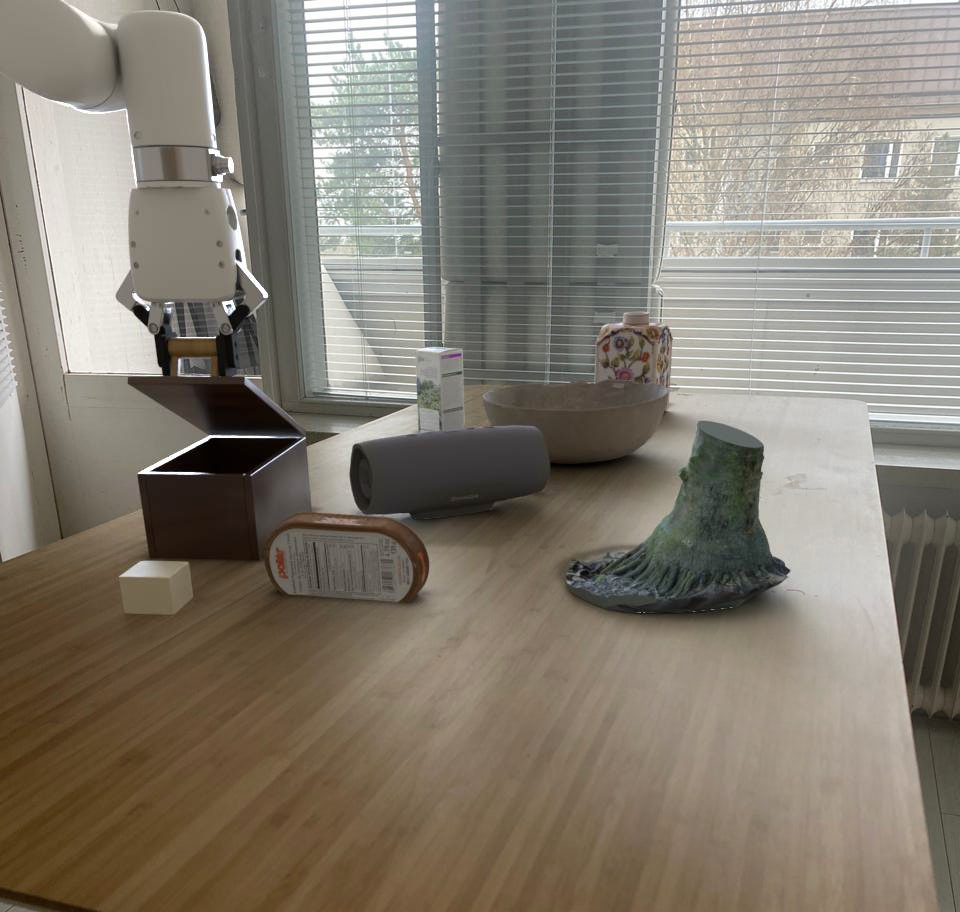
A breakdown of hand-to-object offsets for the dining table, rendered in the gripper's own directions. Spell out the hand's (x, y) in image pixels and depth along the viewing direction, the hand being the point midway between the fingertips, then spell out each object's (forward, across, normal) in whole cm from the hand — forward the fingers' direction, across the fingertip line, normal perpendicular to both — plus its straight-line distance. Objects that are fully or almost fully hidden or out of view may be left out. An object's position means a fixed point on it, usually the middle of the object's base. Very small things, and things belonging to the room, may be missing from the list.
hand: (200, 373), depth 96 cm
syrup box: (+19, -14, -65) cm, 69 cm away
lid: (+5, 0, -5) cm, 7 cm away
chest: (+19, 0, -5) cm, 19 cm away
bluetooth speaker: (+19, -22, -19) cm, 35 cm away
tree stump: (+19, -47, +6) cm, 51 cm away
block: (+19, -1, +18) cm, 26 cm away
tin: (+19, -17, +14) cm, 29 cm away
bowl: (+19, -36, -53) cm, 67 cm away
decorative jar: (+19, -45, -92) cm, 105 cm away
